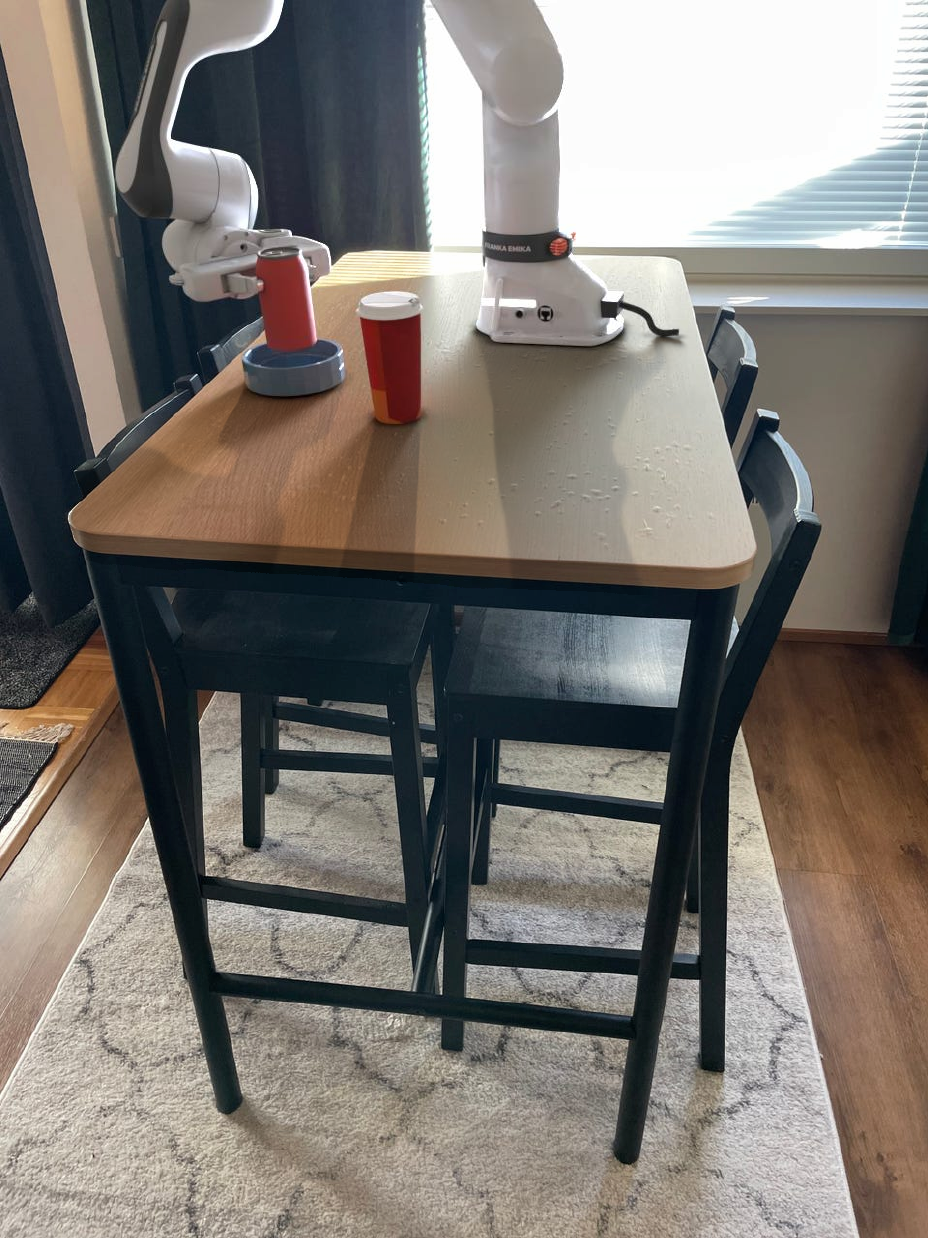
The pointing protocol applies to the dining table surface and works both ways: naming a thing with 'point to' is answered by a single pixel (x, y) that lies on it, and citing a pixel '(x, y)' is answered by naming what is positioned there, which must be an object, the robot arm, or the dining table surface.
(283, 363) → the bowl
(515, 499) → the dining table surface
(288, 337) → the beer can
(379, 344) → the paper cup
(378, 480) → the dining table surface
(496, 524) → the dining table surface
